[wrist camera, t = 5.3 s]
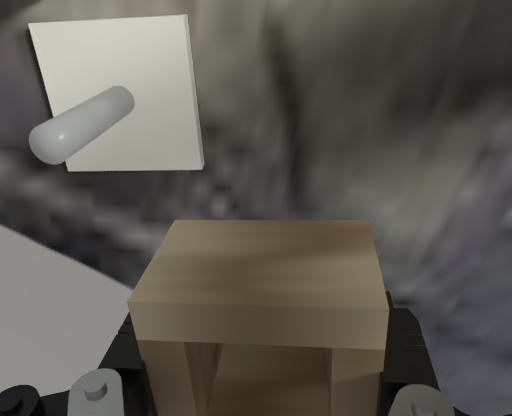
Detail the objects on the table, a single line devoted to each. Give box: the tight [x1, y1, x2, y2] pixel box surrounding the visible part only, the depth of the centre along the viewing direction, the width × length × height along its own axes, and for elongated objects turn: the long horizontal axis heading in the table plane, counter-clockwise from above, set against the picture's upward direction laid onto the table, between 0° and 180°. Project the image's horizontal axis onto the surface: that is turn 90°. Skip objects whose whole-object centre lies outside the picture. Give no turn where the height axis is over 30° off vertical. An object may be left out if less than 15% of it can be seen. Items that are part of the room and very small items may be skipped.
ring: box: [127, 220, 389, 416], centre depth 13 cm, size 6×6×4 cm
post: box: [28, 14, 205, 171], centre depth 25 cm, size 10×10×10 cm
